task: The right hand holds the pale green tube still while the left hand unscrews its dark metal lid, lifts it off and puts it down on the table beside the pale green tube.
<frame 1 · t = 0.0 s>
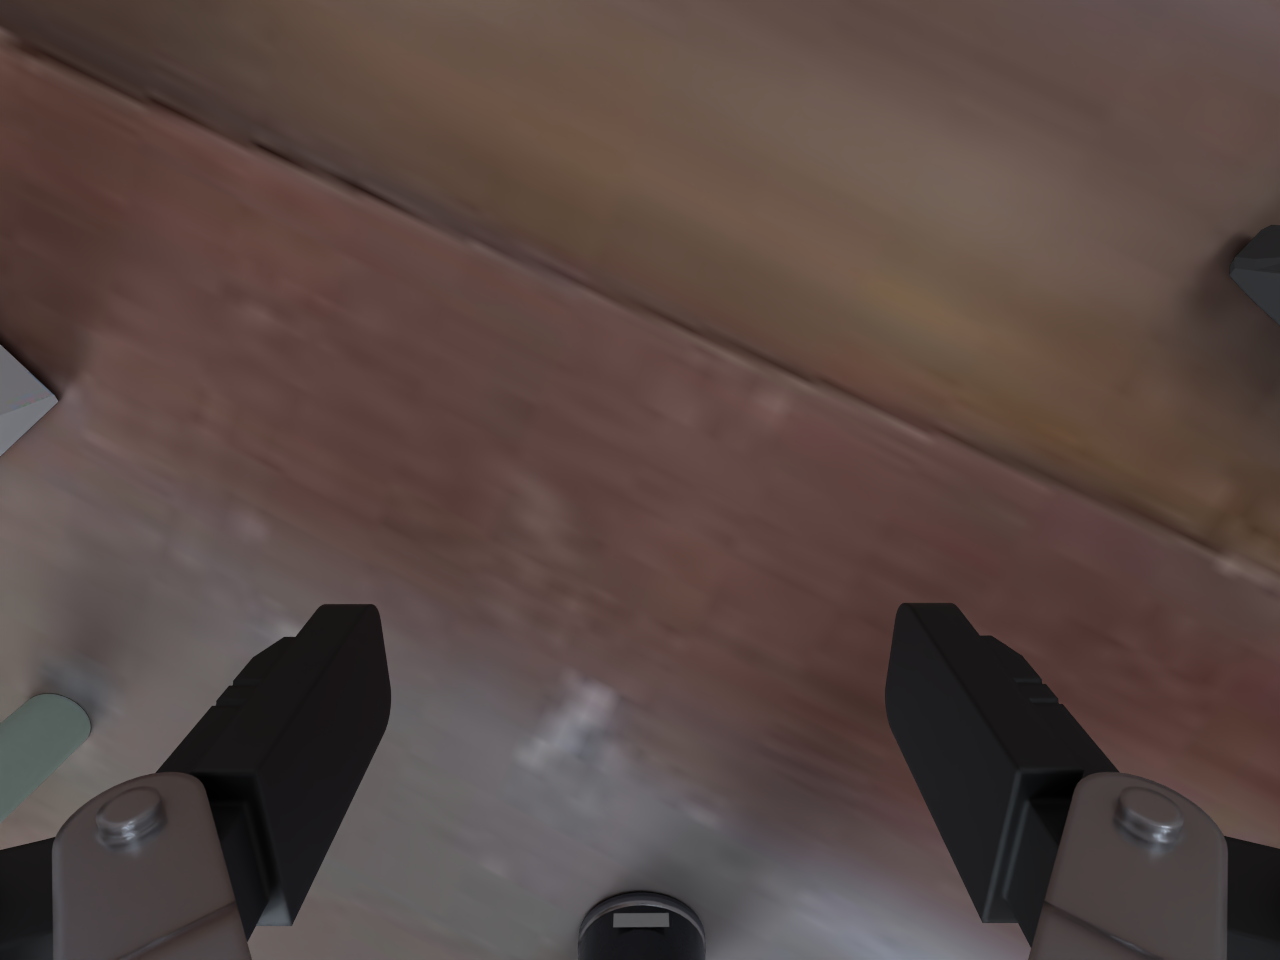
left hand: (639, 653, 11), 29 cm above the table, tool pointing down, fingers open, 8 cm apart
pale green tube: (57, 720, 48), on the table
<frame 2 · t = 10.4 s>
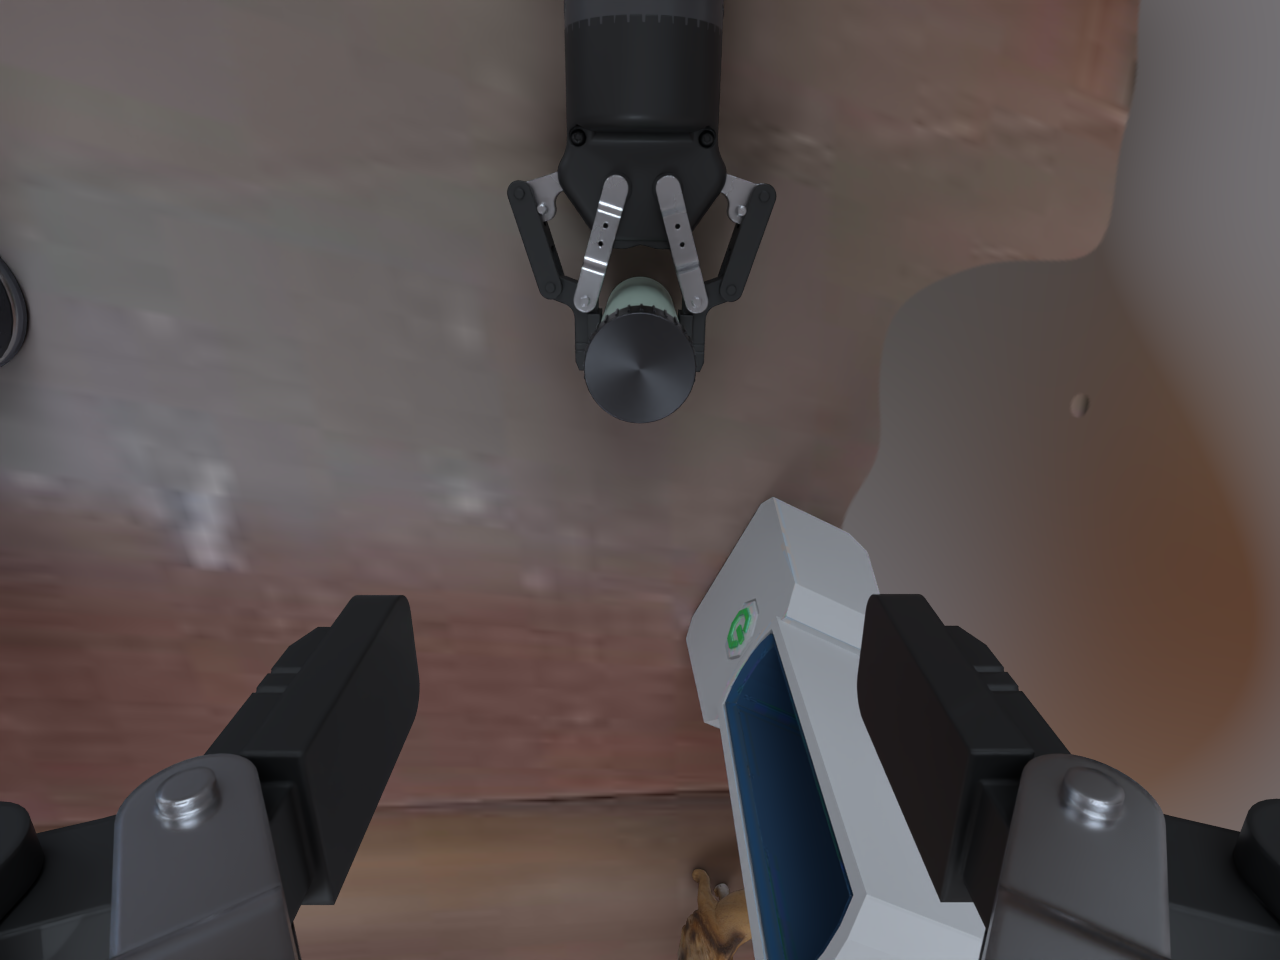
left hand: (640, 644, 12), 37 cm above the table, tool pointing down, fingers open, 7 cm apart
right hand: (640, 377, 41), fingers closed on pale green tube, 4 cm apart
pale green tube: (640, 311, 46), on the table, touching right hand
lion figurine: (740, 868, 63), on the table
electronic device: (767, 580, 53), on the table
lid: (640, 367, 31), point 16 cm above the table, screwed on, not yet turned
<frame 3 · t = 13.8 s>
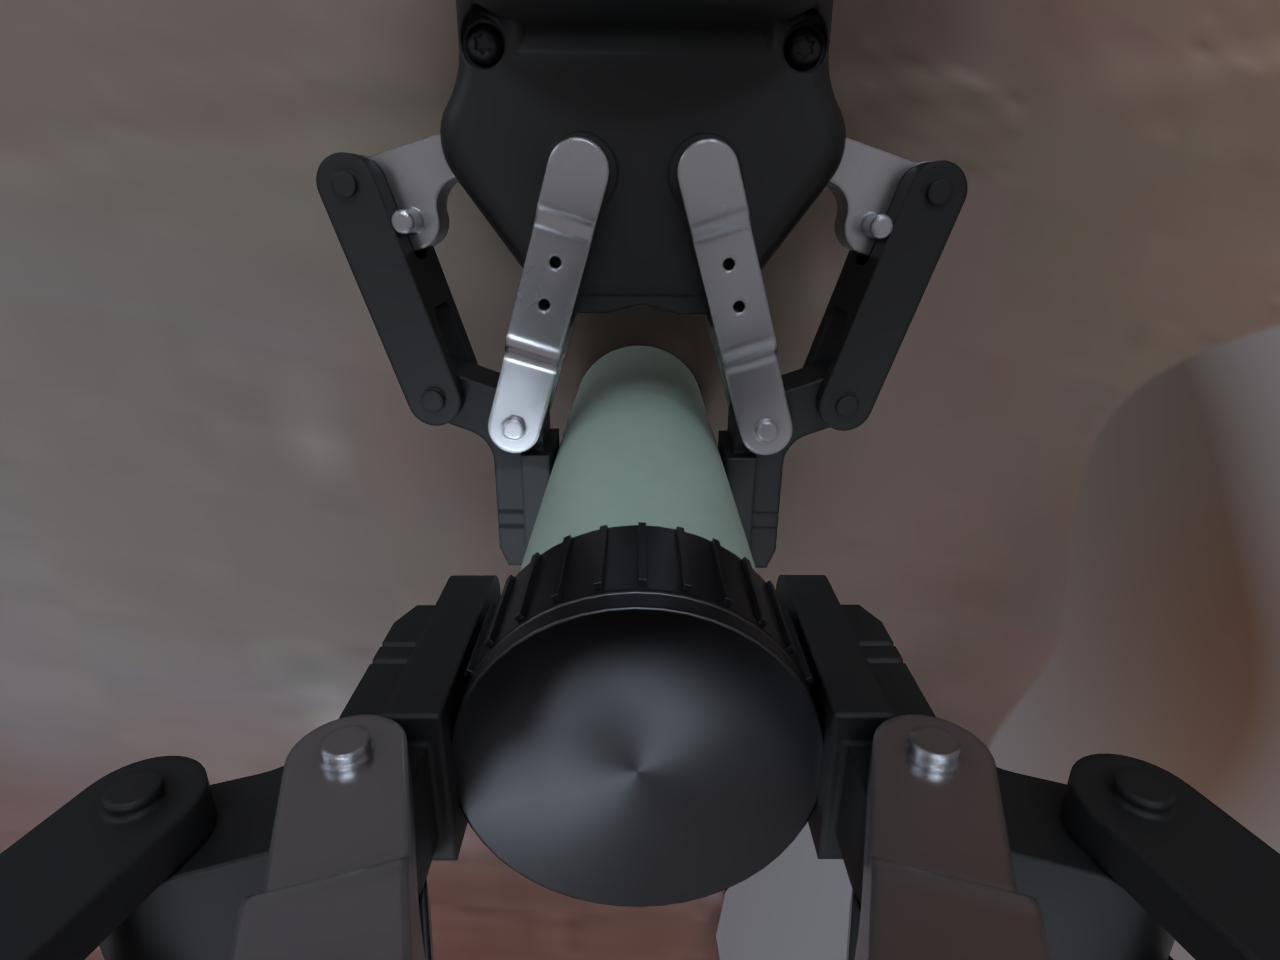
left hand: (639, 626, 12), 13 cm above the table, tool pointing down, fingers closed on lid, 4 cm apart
right hand: (638, 570, 20), fingers closed on pale green tube, 4 cm apart
pale green tube: (638, 408, 25), on the table, touching right hand
electronic device: (852, 837, 32), on the table
lid: (637, 751, 9), point 16 cm above the table, screwed on, not yet turned, touching left hand
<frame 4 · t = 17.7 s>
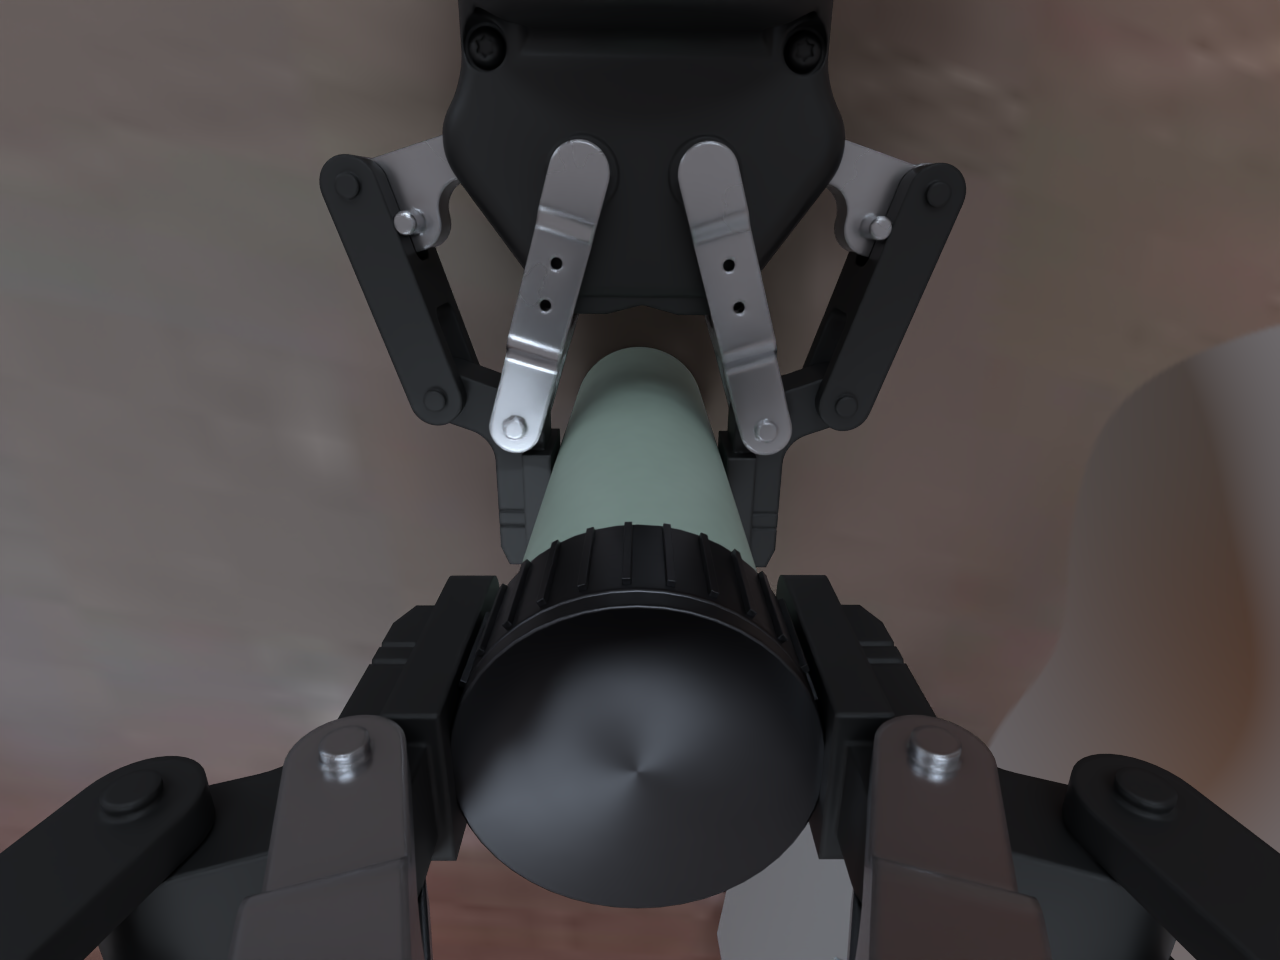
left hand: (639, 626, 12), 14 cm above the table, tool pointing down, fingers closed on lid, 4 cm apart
right hand: (638, 570, 20), fingers closed on pale green tube, 4 cm apart
pale green tube: (639, 409, 25), on the table, touching right hand
electronic device: (853, 835, 32), on the table
lid: (637, 751, 9), point 17 cm above the table, turned 82° so far, risen 0.1 cm, still on its thread, touching left hand
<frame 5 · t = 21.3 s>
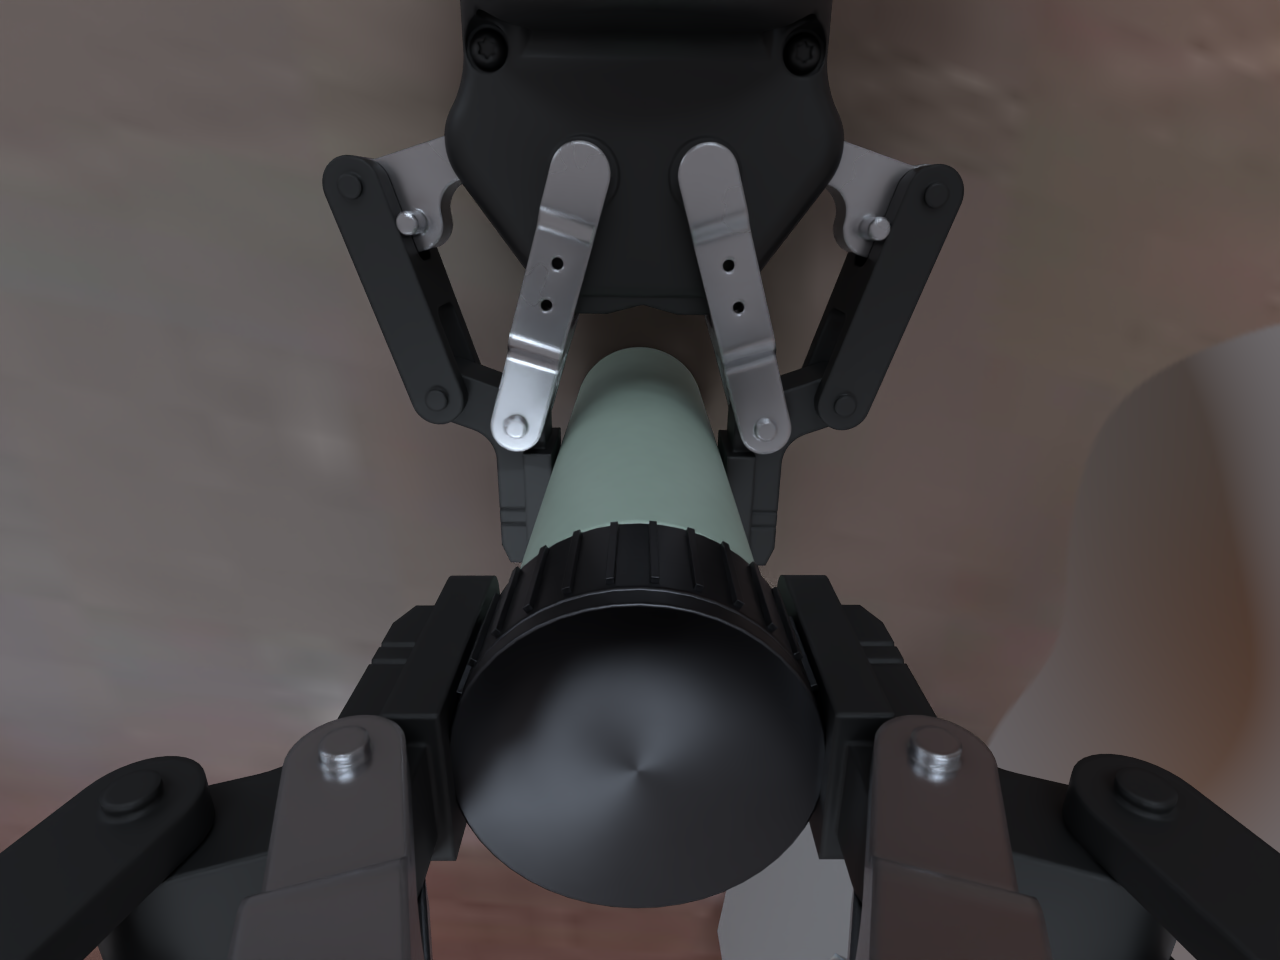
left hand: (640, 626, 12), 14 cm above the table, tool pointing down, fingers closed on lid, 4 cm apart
right hand: (639, 568, 20), fingers closed on pale green tube, 4 cm apart
pale green tube: (639, 409, 25), on the table, touching right hand
electronic device: (853, 833, 32), on the table
lid: (637, 750, 9), point 17 cm above the table, turned 164° so far, risen 0.3 cm, still on its thread, touching left hand
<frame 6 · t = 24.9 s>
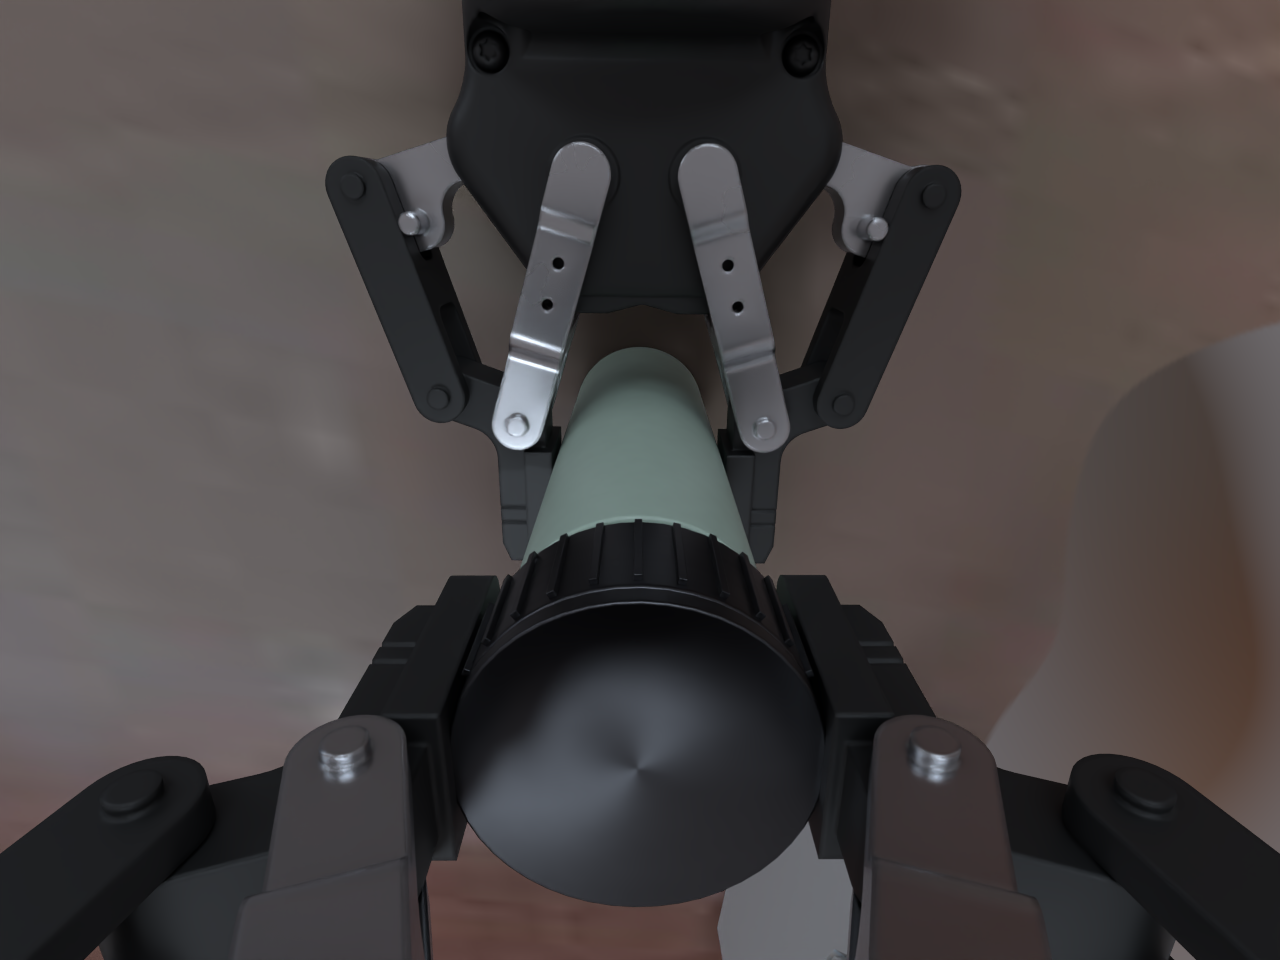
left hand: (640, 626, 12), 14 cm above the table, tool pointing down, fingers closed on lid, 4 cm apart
right hand: (639, 566, 20), fingers closed on pale green tube, 4 cm apart
pale green tube: (639, 408, 25), on the table, touching right hand
electronic device: (852, 830, 32), on the table
lid: (637, 749, 9), point 17 cm above the table, turned 246° so far, risen 0.4 cm, still on its thread, touching left hand
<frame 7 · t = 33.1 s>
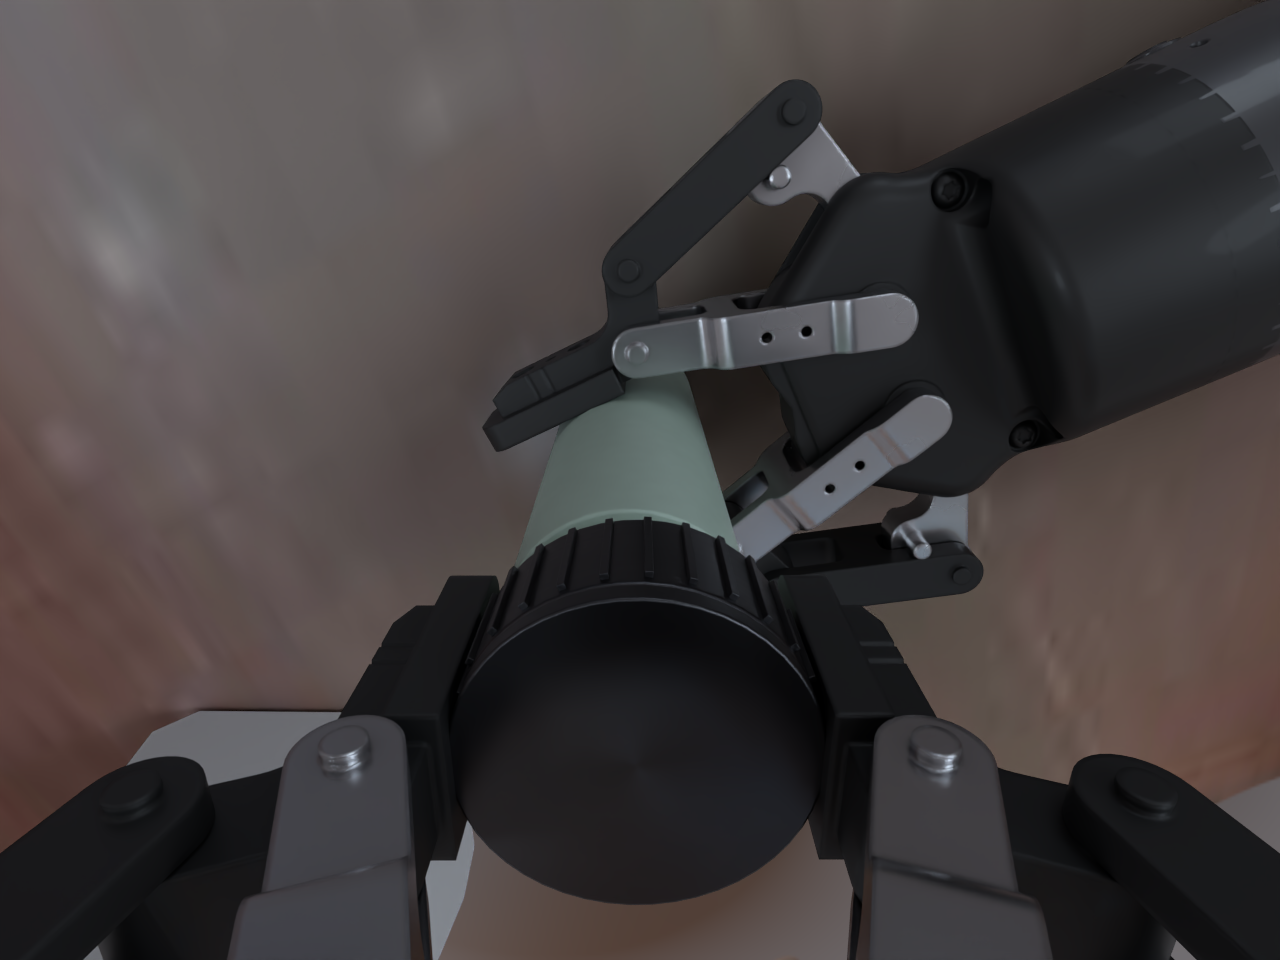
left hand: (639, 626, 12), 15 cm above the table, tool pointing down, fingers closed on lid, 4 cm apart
right hand: (541, 507, 20), fingers closed on pale green tube, 4 cm apart
pale green tube: (631, 402, 26), on the table, touching right hand
electronic device: (334, 773, 32), on the table
lid: (637, 746, 9), point 17 cm above the table, off its thread, touching left hand
when the left hand's fingers open (0 cm above the table, at t = 40.4 s): lid drops 1 cm, point 2 cm above the table.
when the right hand's fingers open (7 cm above the table, at t = 41.4 s): pale green tube stays where it is, on the table.
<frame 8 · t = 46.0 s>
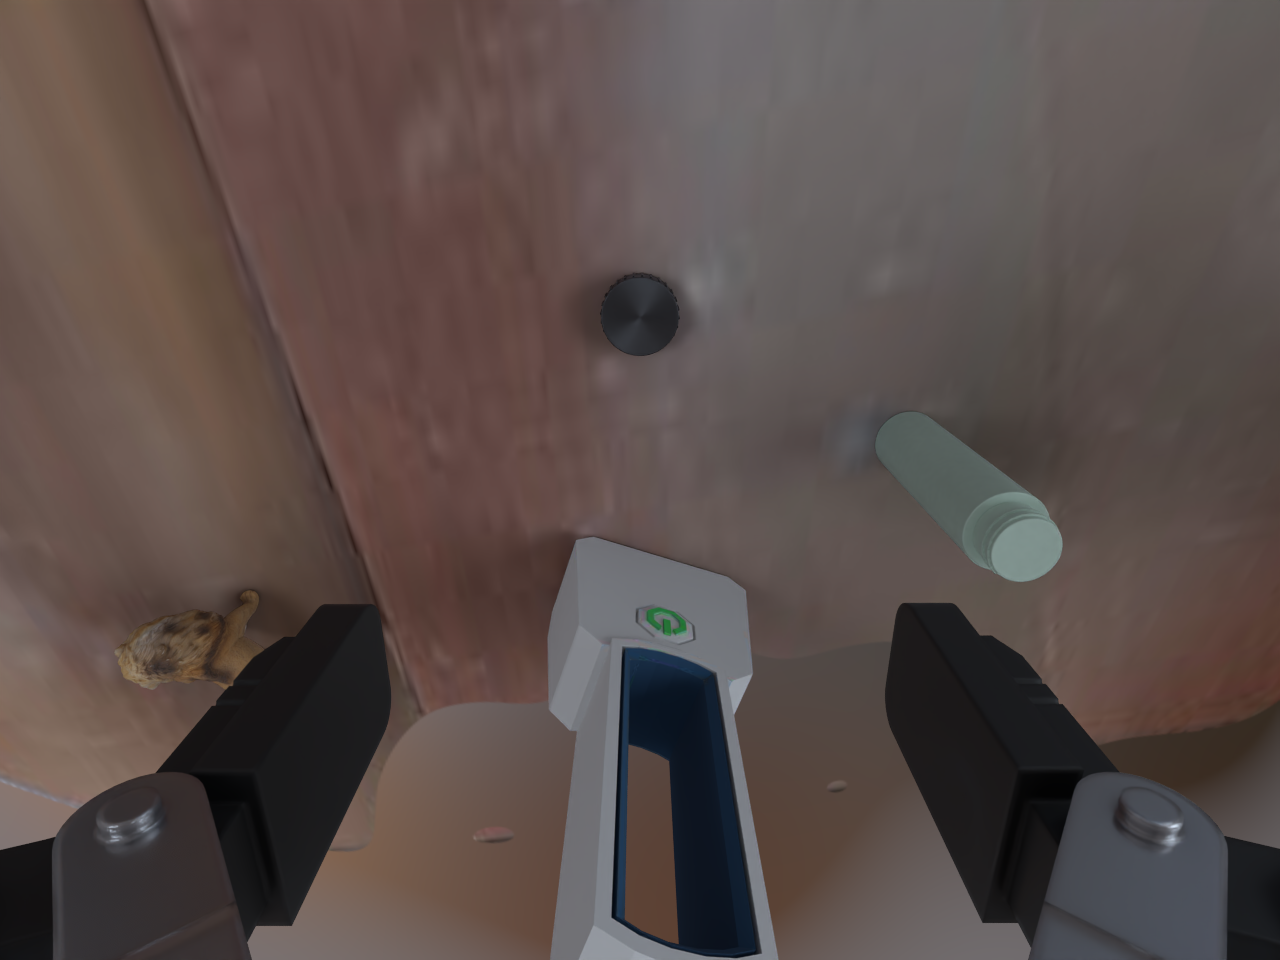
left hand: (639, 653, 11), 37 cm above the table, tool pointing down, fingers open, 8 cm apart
pale green tube: (906, 441, 49), on the table
lion figurine: (272, 636, 55), on the table
electronic device: (646, 596, 53), on the table
lid: (639, 316, 44), point 2 cm above the table, off its thread
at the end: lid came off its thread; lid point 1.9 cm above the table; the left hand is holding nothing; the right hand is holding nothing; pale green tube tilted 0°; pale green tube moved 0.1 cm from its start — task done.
